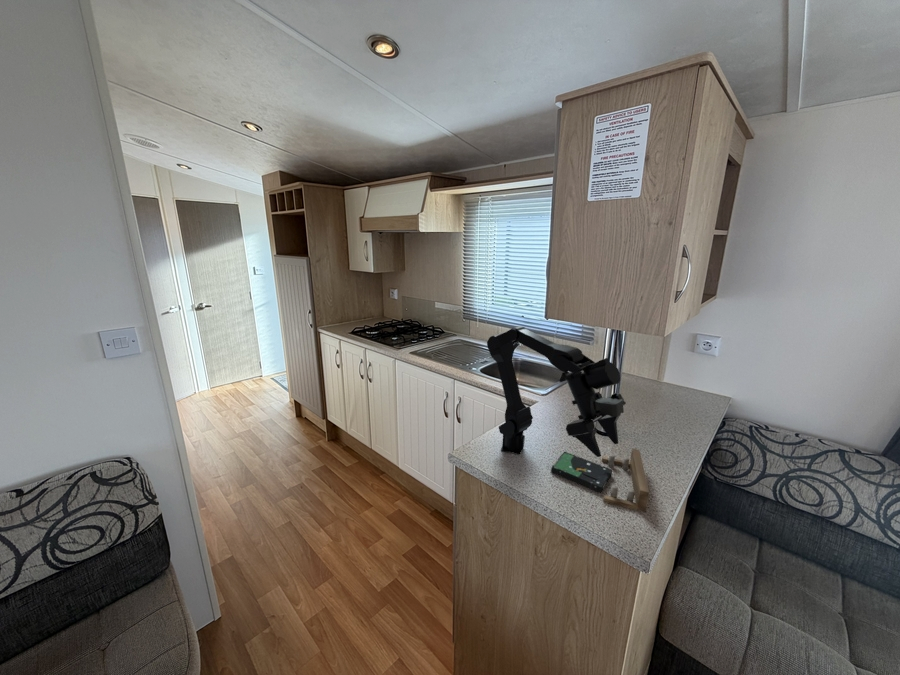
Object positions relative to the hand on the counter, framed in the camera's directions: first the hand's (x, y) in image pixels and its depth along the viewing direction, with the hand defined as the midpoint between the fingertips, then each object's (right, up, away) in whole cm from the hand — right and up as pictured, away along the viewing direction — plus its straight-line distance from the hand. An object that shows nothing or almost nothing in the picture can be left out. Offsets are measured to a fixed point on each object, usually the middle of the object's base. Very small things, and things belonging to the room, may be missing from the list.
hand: (608, 450), depth 91 cm
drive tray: (+8, -13, +10) cm, 18 cm away
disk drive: (-2, -12, +14) cm, 19 cm away
